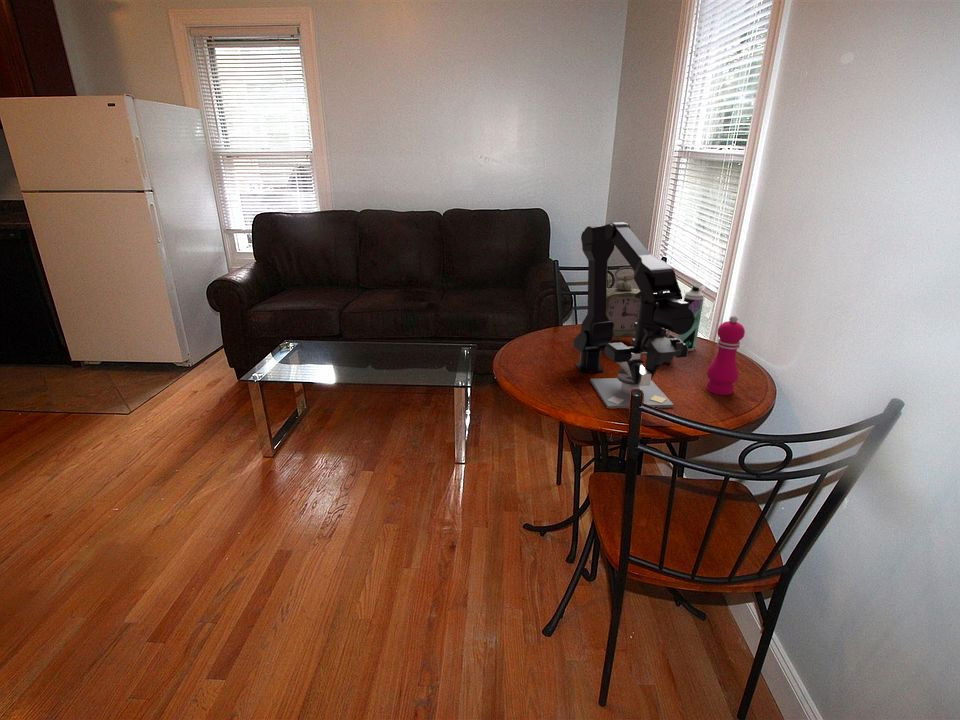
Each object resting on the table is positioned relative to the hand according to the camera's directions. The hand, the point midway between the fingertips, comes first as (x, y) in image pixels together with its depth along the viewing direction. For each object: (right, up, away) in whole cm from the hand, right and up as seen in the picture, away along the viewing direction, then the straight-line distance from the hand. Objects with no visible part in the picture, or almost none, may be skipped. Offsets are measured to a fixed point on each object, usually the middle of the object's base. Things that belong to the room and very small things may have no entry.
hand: (641, 383), depth 117 cm
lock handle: (0, +1, +5) cm, 6 cm away
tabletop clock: (+7, +11, +43) cm, 45 cm away
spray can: (+27, +9, +38) cm, 47 cm away
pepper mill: (+23, -2, +9) cm, 25 cm away
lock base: (-1, -3, +7) cm, 8 cm away
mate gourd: (+15, +5, +27) cm, 32 cm away
